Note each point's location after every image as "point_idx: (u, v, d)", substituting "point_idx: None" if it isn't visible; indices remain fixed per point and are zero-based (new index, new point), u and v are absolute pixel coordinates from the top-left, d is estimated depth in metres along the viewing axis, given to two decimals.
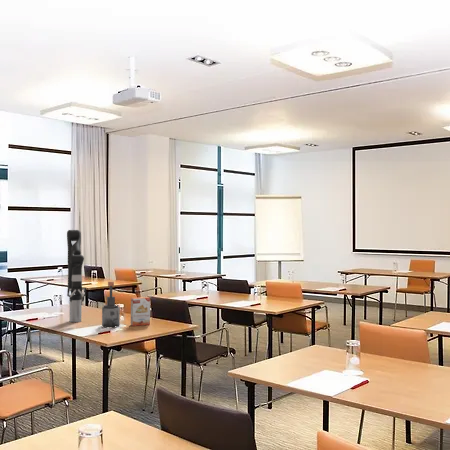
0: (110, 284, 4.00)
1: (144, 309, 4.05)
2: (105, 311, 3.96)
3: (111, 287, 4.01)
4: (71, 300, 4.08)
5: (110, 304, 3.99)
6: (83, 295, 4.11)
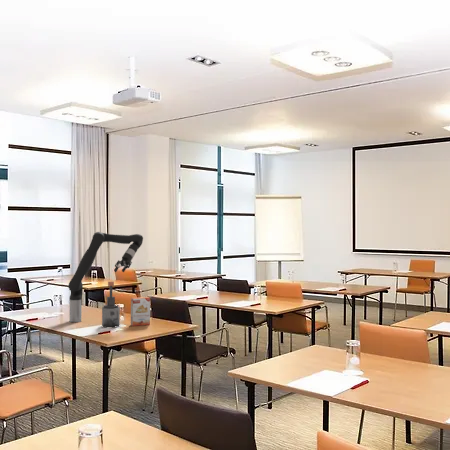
0: (110, 284, 4.00)
1: (144, 309, 4.05)
2: (105, 311, 3.96)
3: (111, 287, 4.01)
4: None
5: (110, 304, 3.99)
6: (118, 267, 4.16)
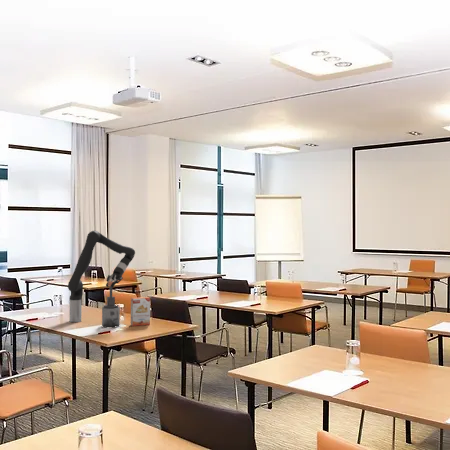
0: (110, 284, 4.00)
1: (144, 309, 4.05)
2: (105, 311, 3.96)
3: (111, 287, 4.01)
4: None
5: (110, 304, 3.99)
6: None
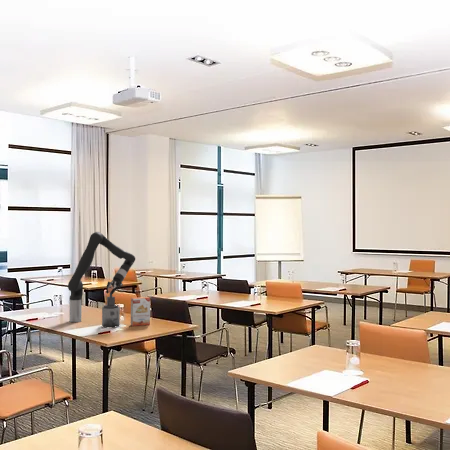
0: (110, 291, 4.00)
1: (144, 309, 4.05)
2: (105, 311, 3.96)
3: (111, 294, 4.01)
4: (112, 292, 4.01)
5: (110, 304, 3.99)
6: None
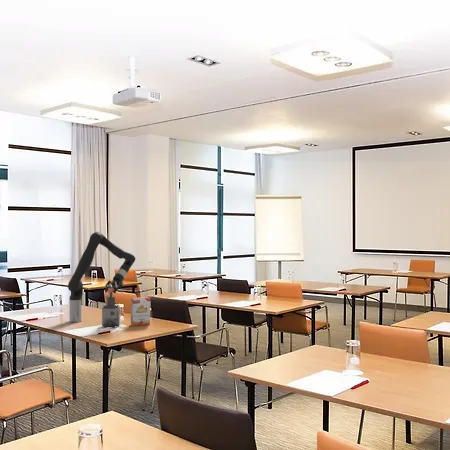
0: (110, 291, 4.00)
1: (144, 309, 4.05)
2: (105, 311, 3.96)
3: (111, 294, 4.01)
4: None
5: (110, 304, 3.99)
6: None
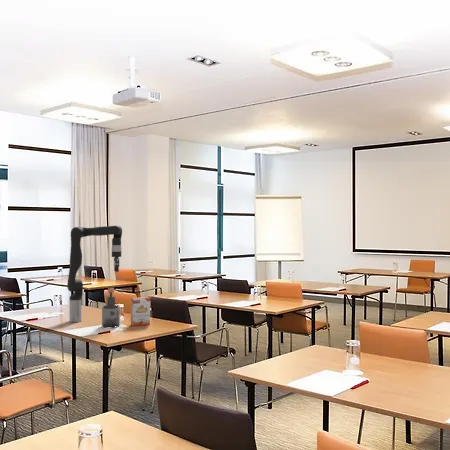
0: (110, 291, 4.00)
1: (144, 309, 4.05)
2: (105, 311, 3.96)
3: (111, 294, 4.01)
4: (118, 270, 4.14)
5: (110, 304, 3.99)
6: None
